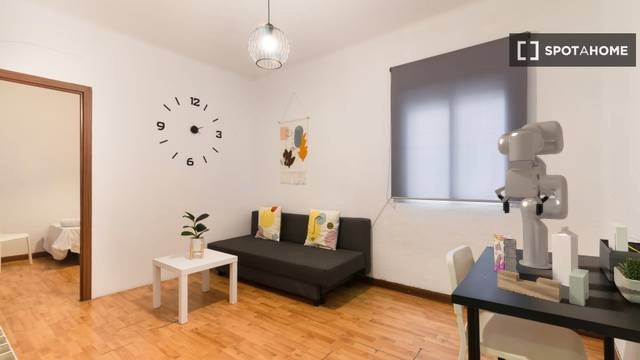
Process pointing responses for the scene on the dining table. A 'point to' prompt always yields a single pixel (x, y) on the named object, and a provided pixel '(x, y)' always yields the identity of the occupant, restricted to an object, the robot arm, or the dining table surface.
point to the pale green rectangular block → (578, 287)
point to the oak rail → (529, 286)
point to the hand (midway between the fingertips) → (522, 214)
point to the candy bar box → (505, 253)
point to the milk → (564, 255)
